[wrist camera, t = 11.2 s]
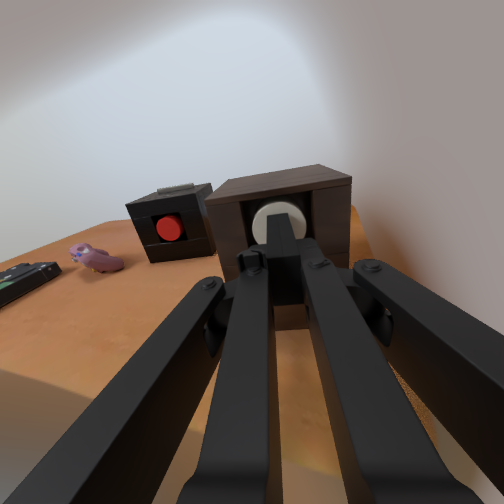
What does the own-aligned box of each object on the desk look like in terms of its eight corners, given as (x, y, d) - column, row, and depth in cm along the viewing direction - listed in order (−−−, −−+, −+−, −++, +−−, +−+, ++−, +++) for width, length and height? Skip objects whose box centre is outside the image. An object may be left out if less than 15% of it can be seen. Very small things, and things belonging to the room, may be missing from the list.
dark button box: (224, 234, 46) (210, 178, 41) (213, 255, 38) (194, 187, 32) (172, 241, 48) (152, 188, 43) (150, 263, 39) (122, 199, 34)
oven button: (188, 233, 38) (181, 211, 36) (183, 239, 36) (175, 216, 34) (167, 236, 39) (159, 215, 37) (161, 242, 36) (152, 219, 35)
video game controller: (93, 272, 44) (58, 251, 39) (110, 254, 46) (78, 233, 41) (110, 284, 38) (70, 262, 33) (128, 263, 39) (92, 239, 35)
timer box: (322, 268, 28) (319, 163, 23) (347, 325, 19) (352, 176, 14) (247, 276, 30) (227, 179, 24) (239, 333, 21) (203, 200, 15)
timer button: (303, 236, 19) (299, 191, 17) (308, 250, 16) (305, 198, 15) (258, 242, 19) (250, 198, 18) (256, 256, 17) (247, 206, 15)
